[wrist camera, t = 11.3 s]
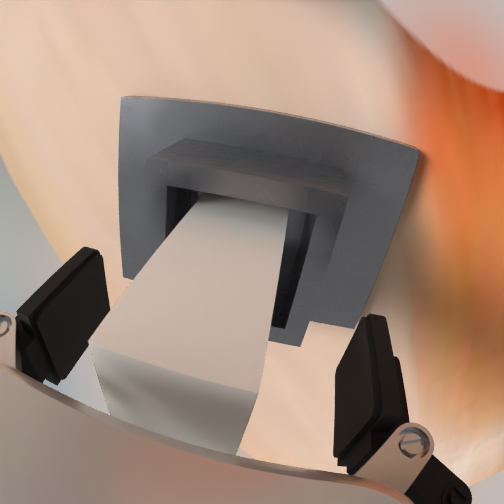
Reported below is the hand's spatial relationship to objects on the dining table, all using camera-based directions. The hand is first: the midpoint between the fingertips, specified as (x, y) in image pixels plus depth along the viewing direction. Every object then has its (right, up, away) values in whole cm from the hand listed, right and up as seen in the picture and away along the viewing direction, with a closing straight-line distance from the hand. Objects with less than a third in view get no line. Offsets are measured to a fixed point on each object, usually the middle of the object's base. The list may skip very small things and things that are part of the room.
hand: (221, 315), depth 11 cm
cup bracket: (+1, +4, +8) cm, 9 cm away
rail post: (+1, +4, +7) cm, 8 cm away
